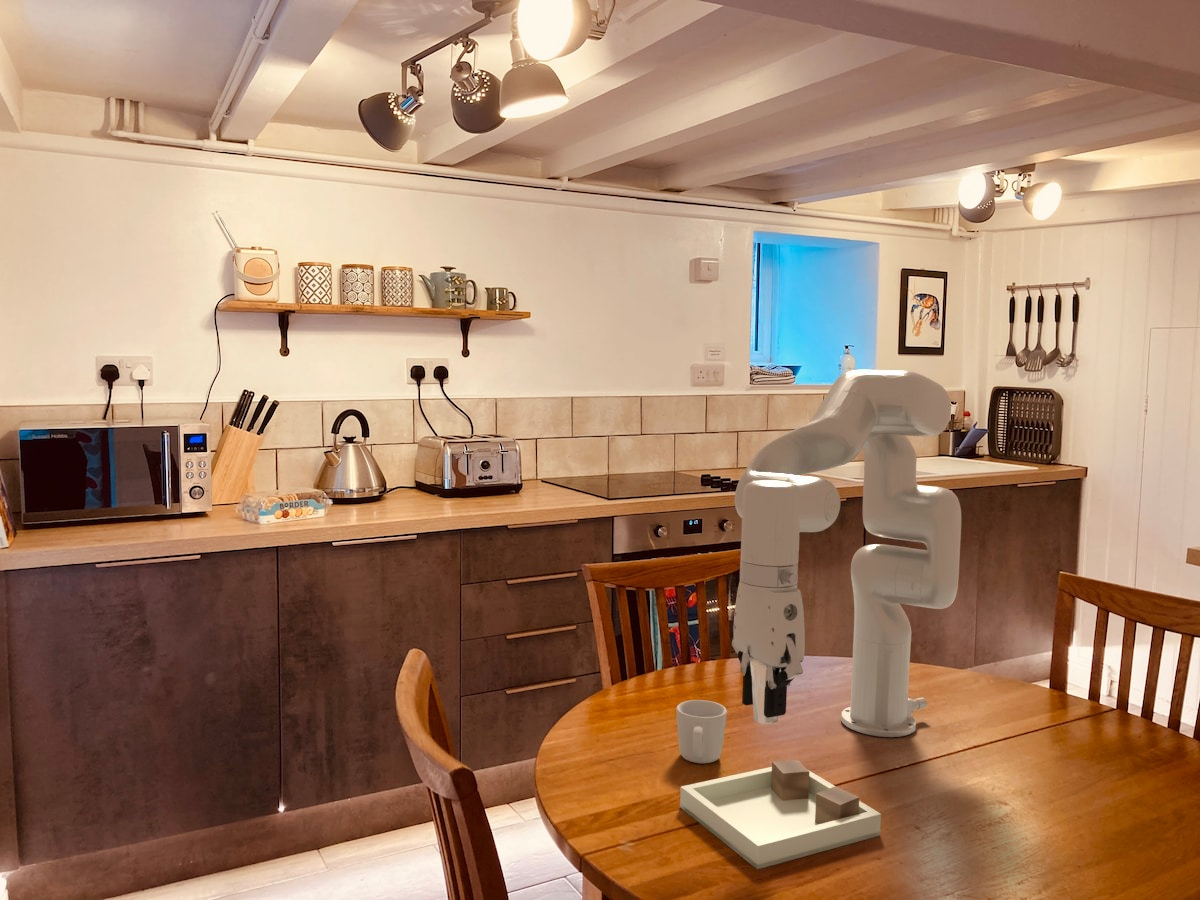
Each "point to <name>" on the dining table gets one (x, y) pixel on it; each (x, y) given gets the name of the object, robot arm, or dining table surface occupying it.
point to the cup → (701, 730)
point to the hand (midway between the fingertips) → (763, 708)
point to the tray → (771, 818)
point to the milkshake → (760, 690)
